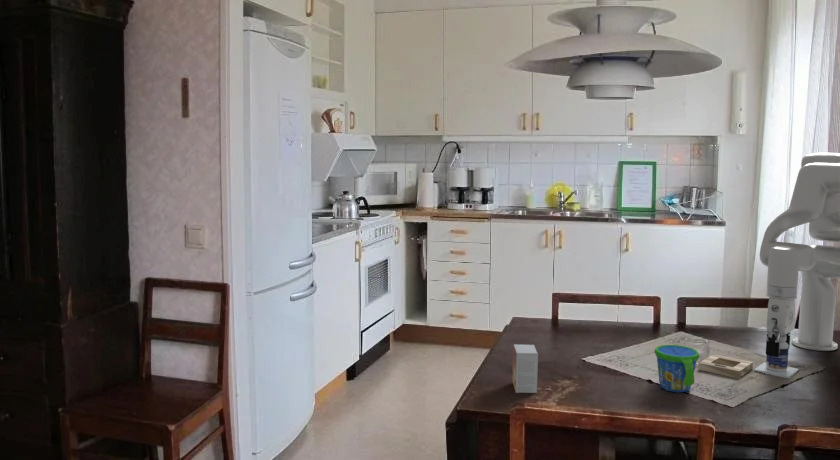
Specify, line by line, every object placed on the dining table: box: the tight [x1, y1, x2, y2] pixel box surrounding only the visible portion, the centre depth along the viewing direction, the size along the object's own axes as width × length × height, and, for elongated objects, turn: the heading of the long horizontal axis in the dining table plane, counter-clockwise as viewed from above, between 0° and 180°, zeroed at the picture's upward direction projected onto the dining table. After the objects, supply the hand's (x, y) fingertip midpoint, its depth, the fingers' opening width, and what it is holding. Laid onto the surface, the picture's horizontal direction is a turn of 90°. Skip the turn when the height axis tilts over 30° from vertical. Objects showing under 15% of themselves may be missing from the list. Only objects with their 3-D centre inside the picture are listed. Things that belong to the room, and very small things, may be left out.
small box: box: [511, 343, 539, 394], centre depth 189 cm, size 8×6×10 cm
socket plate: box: [698, 354, 754, 379], centre depth 205 cm, size 11×11×2 cm
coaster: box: [753, 361, 800, 379], centre depth 204 cm, size 9×9×1 cm
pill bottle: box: [765, 334, 790, 371], centre depth 204 cm, size 5×5×10 cm
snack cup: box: [654, 344, 700, 393], centre depth 189 cm, size 16×10×10 cm
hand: (777, 351), depth 203 cm, fingers open, 9 cm apart
